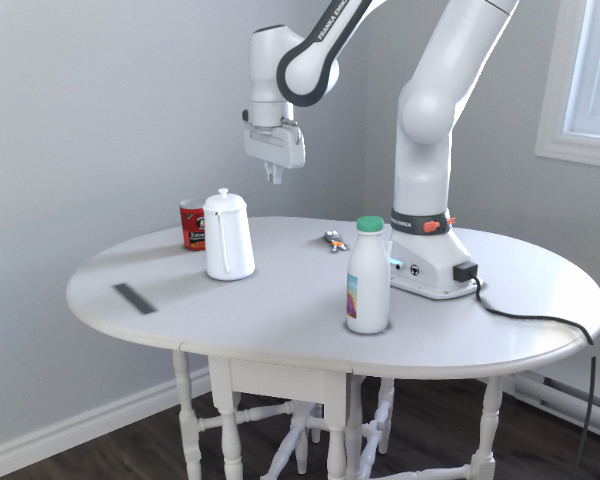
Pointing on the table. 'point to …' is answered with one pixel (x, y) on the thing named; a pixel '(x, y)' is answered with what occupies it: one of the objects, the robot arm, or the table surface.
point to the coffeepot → (227, 237)
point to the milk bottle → (368, 279)
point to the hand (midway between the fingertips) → (274, 183)
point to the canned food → (193, 223)
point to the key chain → (334, 239)
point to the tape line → (134, 298)
